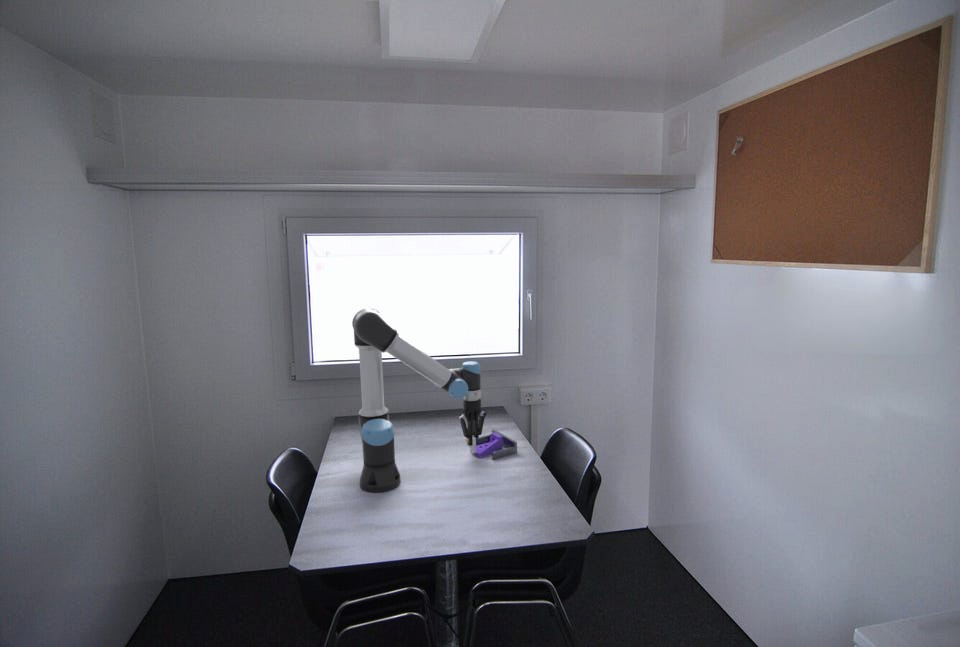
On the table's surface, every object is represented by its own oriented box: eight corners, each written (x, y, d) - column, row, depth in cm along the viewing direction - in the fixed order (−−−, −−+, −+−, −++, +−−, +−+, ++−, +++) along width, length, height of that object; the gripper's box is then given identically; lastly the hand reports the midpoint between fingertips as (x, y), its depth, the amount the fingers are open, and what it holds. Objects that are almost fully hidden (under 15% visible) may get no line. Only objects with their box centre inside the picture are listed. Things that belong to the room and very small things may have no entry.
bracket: (494, 446, 227) (493, 431, 226) (502, 451, 222) (502, 436, 220) (470, 452, 221) (470, 437, 220) (479, 458, 215) (478, 442, 214)
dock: (493, 459, 213) (493, 448, 212) (471, 445, 228) (470, 434, 227) (517, 453, 219) (517, 442, 218) (494, 439, 234) (493, 429, 233)
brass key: (471, 445, 229) (471, 438, 228) (466, 443, 231) (465, 436, 230) (479, 441, 233) (479, 434, 233) (474, 439, 235) (474, 432, 234)
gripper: (462, 403, 208) (464, 458, 211) (489, 398, 214) (490, 451, 218) (454, 398, 214) (455, 452, 218) (480, 393, 221) (481, 445, 224)
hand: (473, 451), depth 218 cm, fingers closed
